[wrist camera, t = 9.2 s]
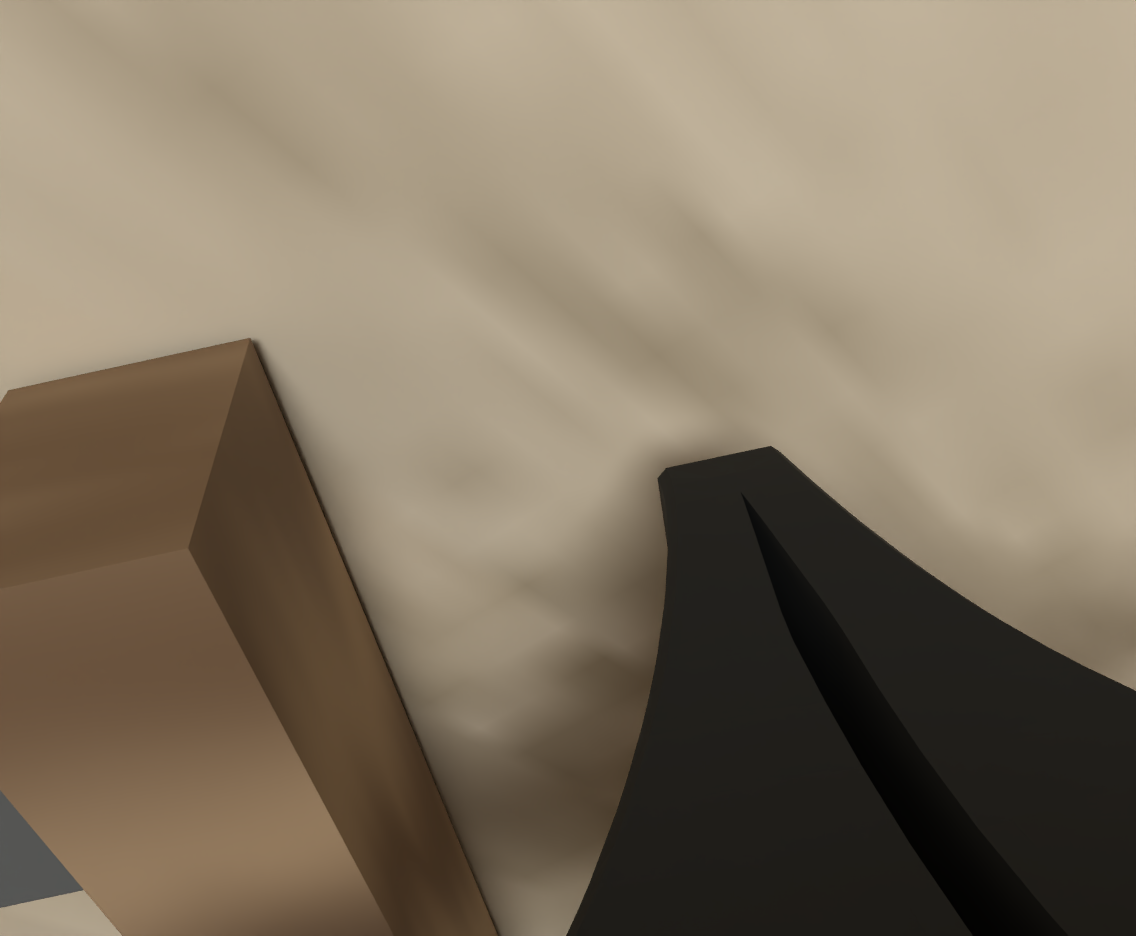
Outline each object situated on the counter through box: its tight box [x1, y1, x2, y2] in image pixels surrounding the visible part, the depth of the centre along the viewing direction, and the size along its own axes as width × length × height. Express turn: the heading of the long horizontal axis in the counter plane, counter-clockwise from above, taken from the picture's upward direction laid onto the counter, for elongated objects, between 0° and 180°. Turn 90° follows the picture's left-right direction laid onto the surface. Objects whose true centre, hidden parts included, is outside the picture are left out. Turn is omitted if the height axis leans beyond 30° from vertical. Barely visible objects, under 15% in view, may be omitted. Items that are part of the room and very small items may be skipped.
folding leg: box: [0, 338, 498, 936], centre depth 15 cm, size 17×3×4 cm, turn 10°
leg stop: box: [0, 790, 84, 908], centre depth 13 cm, size 2×5×3 cm, turn 10°
